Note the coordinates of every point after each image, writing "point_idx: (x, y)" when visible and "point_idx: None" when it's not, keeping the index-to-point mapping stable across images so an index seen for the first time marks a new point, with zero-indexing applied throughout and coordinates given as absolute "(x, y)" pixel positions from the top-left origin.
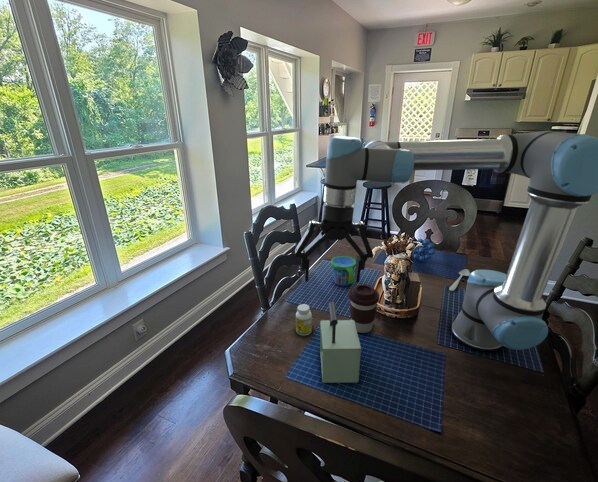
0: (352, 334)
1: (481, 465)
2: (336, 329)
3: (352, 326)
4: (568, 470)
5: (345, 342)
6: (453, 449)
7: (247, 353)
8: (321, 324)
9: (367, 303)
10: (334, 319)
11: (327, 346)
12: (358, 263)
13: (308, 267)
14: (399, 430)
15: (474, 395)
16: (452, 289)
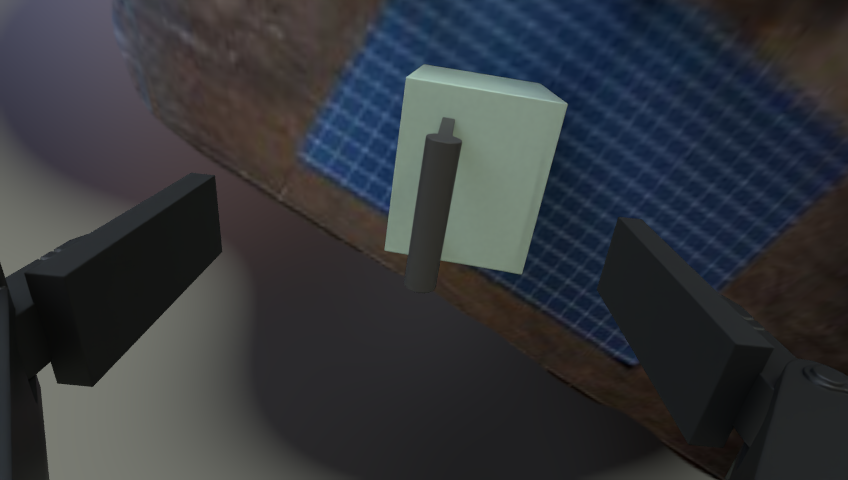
0: (520, 198)
1: (661, 426)
2: (463, 155)
3: (540, 148)
4: None
5: (476, 235)
6: (632, 396)
7: (162, 26)
8: (404, 110)
9: None
10: (418, 291)
11: (402, 242)
12: (670, 407)
13: (147, 323)
14: (547, 346)
15: (799, 307)
16: None
